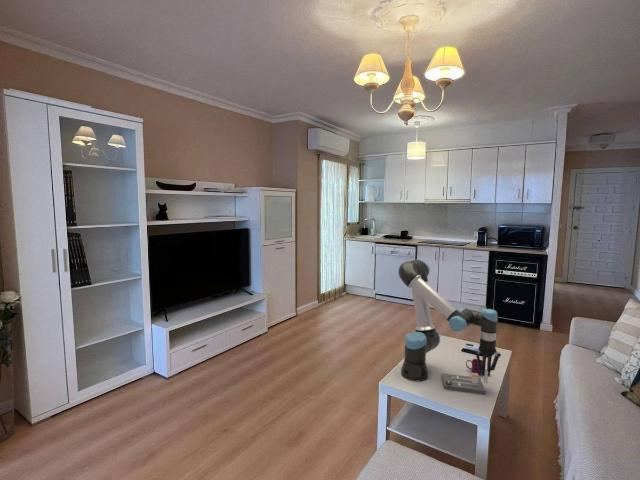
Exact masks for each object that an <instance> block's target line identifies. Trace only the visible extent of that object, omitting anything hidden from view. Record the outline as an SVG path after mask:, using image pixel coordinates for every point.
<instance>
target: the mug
mask: <svg viewBox="0 0 640 480" xmlns="http://www.w3.org/2000/svg"><path fill="white" fill-rule="evenodd" d="M468 362H470V363H471V367H469V365H468ZM480 363H481V366H482V359H480ZM465 366H466V368H467V369H469V370H470V371H471V373H478V375H479V376H482V369H479V366H478V362H477V358H472V360H470V359H467V360H465Z"/></svg>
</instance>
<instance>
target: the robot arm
mask: <svg viewBox="0 0 640 480" xmlns="http://www.w3.org/2000/svg"><path fill="white" fill-rule="evenodd" d="M429 266H430V265H429V264H428V263H427V262H426V261H425V260H424V259H413V260H409V261H404V262H403V263H401V265H400V266H399V267H398V276H399V279H400V280H401V281H402V282H403V284H404V285H405V286H407V288H408V289H411V293H412V299H413V300H412V301H413V306H414V307H413V308H414V314H415V320H416V327H415V329H414V331H413V332H408V333H407V334H405V338H404V361H403V363H402V366H401V368H400V375H402V377H403V378H405V379H406V380H409V381H414V382H422V381H426V380H427V379H429V369H428V367H427V363H426V362H427V360H426V359H427V354H428V353H429V352H431V351H433V350H434V349H436V348H438V346H439V345H440V342H441V335H440V333H439V331H437V329H436V326H435V325H434V324H433V322H432V315H431V310H430V309H431V308H430V306H431V307H432V308H433V309H434V310H436V311H437V313H439V314H440V315H441V316H442V317H443V318H444V320H446V321H447V322H448V325H449V327H450V329H451V330H452V331H454V332H458V333H459V332H461V331H462V332H463V331H464V330H465V329H466V328H468V327H469V326H472V325H473V326H477V327H480V333H479V334H480V336H479V337H480V338H479V346H478V348H477V349H474V350H473V352H474V354H475V356H476V359H477V362H478V366H479V369H482V375H481V376H482V377H483V378H482V380H483V381H482V382H484V383H485V384H488V378H489V377H491V372H493V371H495V369H496V366H497V363H498V360H499V358H500V357H502V354H501V352H499V351H497V348H496V346H497V345H496V344H497V332H498V331H497V329H498V320H499V319H498V312H497V310H495V309H492V308H483V309H482V310H481V311H478V310H474V309H469V308H463V307H461V308H459V309H456V307H454V306H453V305H452V304H451V303H450V302H449V301H447V300H446V299H445V298H444V297H443V296H442V295H441V294H439V292H437V290H435V289H434V288H433V287H432V286H431V285H429V284H428V282H429V280H428V279H429V278H428V276H429V274H430V271H431V269H430V267H429ZM479 354H481V355H482V357H481V358H482V359H481V358H480V355H479ZM493 356H494V357H493ZM492 357H493V359H492ZM480 360H482V366H481V363H480ZM486 361H487V362H486ZM486 363H487V364H486Z"/></svg>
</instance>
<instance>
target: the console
mask: <svg viewBox="0 0 640 480" xmlns="http://www.w3.org/2000/svg"><path fill="white" fill-rule="evenodd" d="M441 380H442V387H443V389H444V390H448V391H456V392H464V393H471V394H478V395H486V389H485V387H484V384H483V381H482V378H481V377H478V384H474V383H472V382H471V376H470V375H469V376H468V375H459V374H452V373H444V372H442V373H441Z"/></svg>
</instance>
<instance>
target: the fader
mask: <svg viewBox="0 0 640 480" xmlns="http://www.w3.org/2000/svg"><path fill="white" fill-rule="evenodd" d="M470 374H471V376H470V377H471V382H472V383H474V384H478V378H480V375H478V373H472V372H471V373H470Z"/></svg>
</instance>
